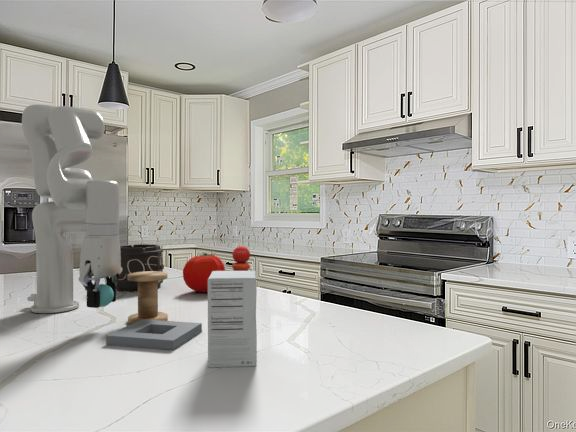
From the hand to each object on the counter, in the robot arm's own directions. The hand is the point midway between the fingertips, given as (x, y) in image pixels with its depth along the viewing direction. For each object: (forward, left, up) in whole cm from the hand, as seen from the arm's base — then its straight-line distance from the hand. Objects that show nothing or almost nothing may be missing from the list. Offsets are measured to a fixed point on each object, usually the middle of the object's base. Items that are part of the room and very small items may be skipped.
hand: (101, 303), depth 106 cm
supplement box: (+39, -13, -6) cm, 41 cm away
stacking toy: (+27, +25, -6) cm, 38 cm away
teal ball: (0, 0, -1) cm, 1 cm away
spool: (+7, +10, -6) cm, 13 cm away
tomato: (+5, +49, -6) cm, 50 cm away
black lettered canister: (-22, +51, -7) cm, 56 cm away
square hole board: (+17, -4, -6) cm, 18 cm away
